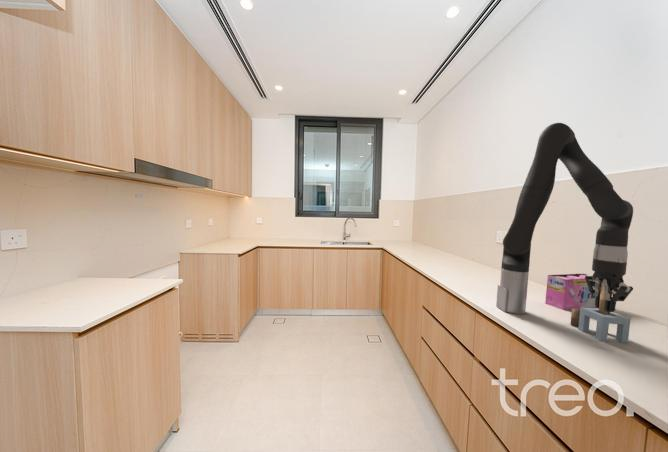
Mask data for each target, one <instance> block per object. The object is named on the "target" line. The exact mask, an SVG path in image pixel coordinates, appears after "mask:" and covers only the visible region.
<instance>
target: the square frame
mask: <svg viewBox="0 0 668 452" xmlns="http://www.w3.org/2000/svg"><path fill="white" fill-rule="evenodd" d="M579 310H580V317H579V327H577V329H578V331H580V332H582V333H589V331H590V322H591V320H590V319H593V320H594V321H596V328H595V339H596V340H598V341H599V342H608V334H609V326H610V324H611V325H612V324H613V325H614V324H615V325H616V335H615V340H616V341H617V342H620V343H622V344H629V338H630V336H629V335H630V326H631V325H630V324H631V318H629V317H627V316H624V315H622V314H620V313H617V312H615V311H614V312H610V315H603V314H600V313H598V312H599V308H597V307H594V308H582V307H580V309H579Z"/></svg>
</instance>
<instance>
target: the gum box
mask: <svg viewBox="0 0 668 452" xmlns="http://www.w3.org/2000/svg"><path fill="white" fill-rule="evenodd" d="M585 276H589V275H588V274H587V273H567V274H566V273H565V274H547V280H546V291H545V301H544V302H545V303H544V304H545V305H549V306H551V307H554V308H556V309H561V310H562V309H563V310H564V311H565V310H572V309H579V310H580V307H582V308H593V307H594V308H597V307H596V306H595V297H596V296H595V295H594V294H593V293H590V291H589V288H588V285H587V282H586V279H585ZM593 289H594V287H593ZM594 290H595V289H594ZM600 292H601V291H600ZM563 310H562V311H563Z"/></svg>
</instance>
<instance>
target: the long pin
mask: <svg viewBox="0 0 668 452" xmlns="http://www.w3.org/2000/svg"><path fill="white" fill-rule="evenodd" d="M610 291H613V290H610ZM611 297H613V295H612V294H611ZM606 300H607V299H606V293H605V292H604V284H603V282H602V283H601V292H600V302H599V308H598V309H599V312H598V313H600V314H603V315H610V312H607V311H605V301H606Z"/></svg>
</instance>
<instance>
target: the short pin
mask: <svg viewBox="0 0 668 452" xmlns="http://www.w3.org/2000/svg"><path fill="white" fill-rule="evenodd" d="M570 314H571V316H570V326H571V327H574V328H578V327H579V317H580V309H571V313H570Z"/></svg>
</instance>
